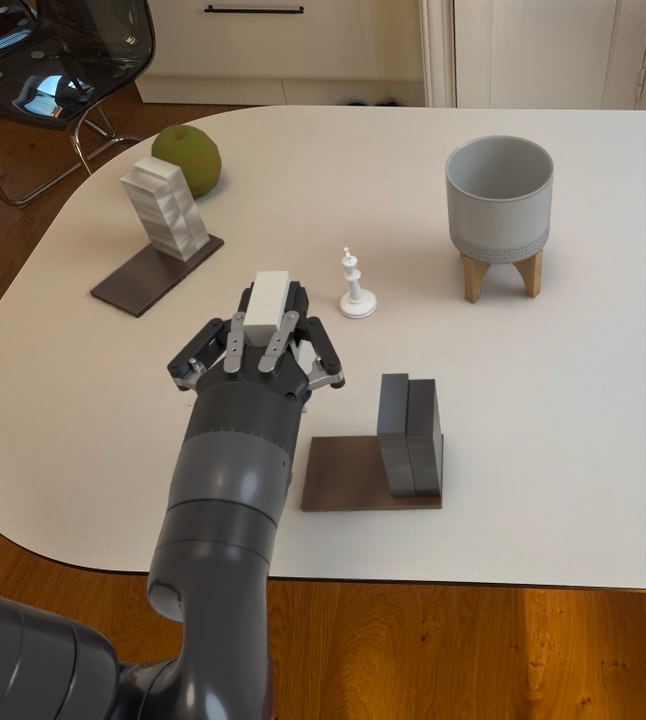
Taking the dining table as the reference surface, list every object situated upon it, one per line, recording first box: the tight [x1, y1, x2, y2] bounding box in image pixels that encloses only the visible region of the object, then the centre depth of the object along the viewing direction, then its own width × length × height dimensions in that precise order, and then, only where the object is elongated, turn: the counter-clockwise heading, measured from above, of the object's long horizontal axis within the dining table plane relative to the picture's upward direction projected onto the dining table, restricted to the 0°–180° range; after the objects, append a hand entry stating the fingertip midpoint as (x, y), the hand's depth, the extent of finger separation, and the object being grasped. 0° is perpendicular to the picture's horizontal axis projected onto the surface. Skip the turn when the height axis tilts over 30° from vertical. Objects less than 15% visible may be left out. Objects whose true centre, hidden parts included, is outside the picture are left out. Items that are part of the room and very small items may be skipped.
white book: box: [243, 270, 316, 415], centre depth 61 cm, size 3×6×12 cm, turn 1°
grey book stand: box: [299, 372, 445, 513], centre depth 73 cm, size 15×9×13 cm, turn 91°
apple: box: [150, 124, 223, 198], centre depth 107 cm, size 10×10×11 cm
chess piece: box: [339, 247, 378, 319], centre depth 90 cm, size 5×5×10 cm
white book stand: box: [89, 154, 225, 319], centre depth 94 cm, size 17×9×13 cm, turn 151°
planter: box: [444, 134, 555, 304], centre depth 91 cm, size 13×13×18 cm
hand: (278, 289), depth 60 cm, fingers closed on white book, 2 cm apart
